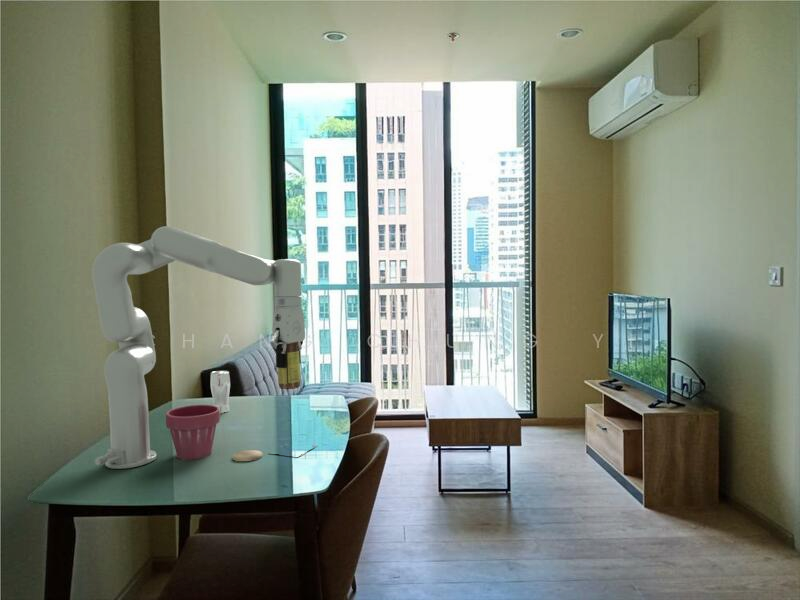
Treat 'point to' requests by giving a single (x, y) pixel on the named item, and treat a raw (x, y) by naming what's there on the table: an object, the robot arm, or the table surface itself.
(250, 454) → the coaster
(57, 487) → the table surface
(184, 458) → the plant pot
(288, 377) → the sauce bottle
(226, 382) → the beer glass
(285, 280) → the robot arm
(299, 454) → the table surface
